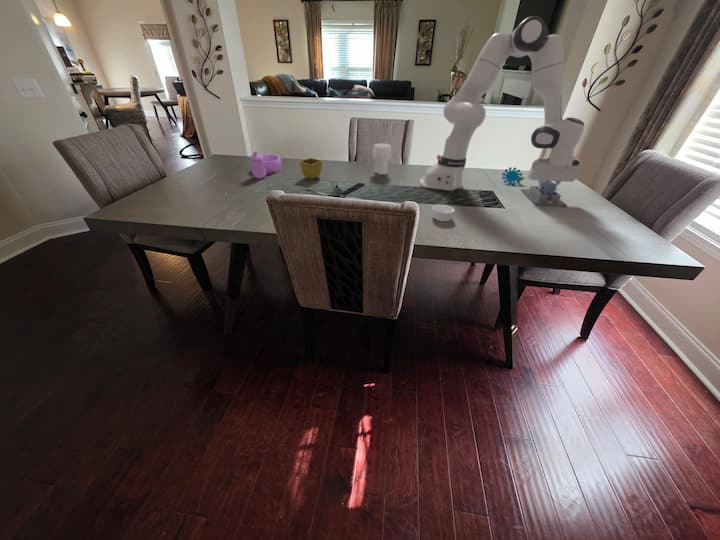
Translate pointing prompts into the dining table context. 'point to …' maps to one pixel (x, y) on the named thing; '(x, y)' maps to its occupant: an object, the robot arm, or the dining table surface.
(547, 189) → the servo
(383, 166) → the cup
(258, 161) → the container set
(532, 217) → the dining table surface
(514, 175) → the blue virus model
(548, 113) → the robot arm
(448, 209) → the ramekin
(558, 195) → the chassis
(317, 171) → the flower pot
